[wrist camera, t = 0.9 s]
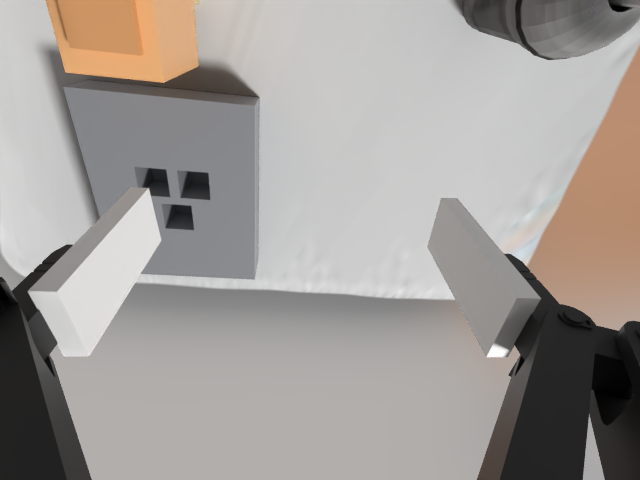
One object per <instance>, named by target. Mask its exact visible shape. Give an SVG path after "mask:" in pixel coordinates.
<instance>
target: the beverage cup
mask: <svg viewBox="0 0 640 480" xmlns="http://www.w3.org/2000/svg"><path fill="white" fill-rule="evenodd" d="M463 13H464V17H465V19H466V22H467V23H468V24H469V25H470V26H471V27H472V28H474V29H477V30H478V31H480V32H483V33H486V34H489V35H492V36H496V37H499V38H502V39H505V40H509V41H512V42H515V43H518V44H520V45H521V46H522V47H523V48H525V49H527V50H528V51H530V52H531V53H532V54H533V55H535V56H538V57H541V58H544V59H547V60H555V59H567V58H570V57H577V56H582V55H585V54H588V53H590V52H593V51H595V50H598V49H600V48H603V47H605V46H607V45H609V44H610V43H612V42H613V41H615V40H616V39H617V38H619V37H620V36H622V35H623V34H625V33H626V32H627V31H629V30H630V29H631V28H632V27H633V26H634V25H635V24H636V23H637V22H638V21H639V20H640V0H464V2H463Z"/></svg>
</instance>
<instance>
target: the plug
mask: <svg viewBox="0 0 640 480" xmlns="http://www.w3.org/2000/svg"><path fill="white" fill-rule="evenodd" d="M46 4H47V7H48V11H49V15H50V18H51V22H52V25H53V29H54V33H55V36H56V40H57V44H58V47H59V51H60V55H61V58H62V62H63V66H64V69H65V72H66V73H75V74H85V75H94V76H104V77H114V78H123V79H133V80H143V81H152V82H162V83H164V82H166V81H169V80H171V79H173V78H175V77H177V76H179V75H181V74H184V73H186V72H188V71H190V70H192V69H194V68H196V67H199V63H198V50H197V37H196V25H195V12H194V4H198V5H199V0H46Z"/></svg>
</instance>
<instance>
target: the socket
mask: <svg viewBox="0 0 640 480" xmlns="http://www.w3.org/2000/svg"><path fill="white" fill-rule="evenodd" d="M63 89H64V93H65V96H66V100H67V103H68V107H69V110H70V114H71V117H72V121H73V124H74V128H75V131H76V135H77V139H78V142H79V146H80V149H81V153H82V156H83V160H84V163H85V167H86V170H87V174H88V177H89V181H90V184H91V188H92V192H93V195H94V199H95V202H96V206H97V209H98V213H99V216H100V218H101V217H102V216H103V215H104V214H105V213H106V212H107V211H108V210H109V209H110V208H111V207H112V205H113V204H114V203H115V202H116V201H117V200H118V199H119V198H120V197H121V196H122V195H123V194H124V193H125V192H126V191H127V190H128V189H129V188H130V187H137V188H149V191H150V195H151V199H152V203H153V207H154V212H155V216H156V220H157V224H158V228H159V232H160V236H161V242H160V243H159V245H158V247H157V248H156V250H155V251H154V253H153V255H152V256H151V258H150V260H149V261H148V263H147V264H146V266H145V268H144V269H143V271H142V272H141V274H157V275H176V276H196V277H216V278H235V279H255V274H256V269H257V263H258V212H259V97H252V96H243V95H233V94H223V93H213V92H204V91H194V90H184V89H174V88H165V87H155V86H145V85H135V84H126V83H116V82H106V81H96V80H85V81H81V82H78V83H74V84H71V85H67V86H64V87H63Z"/></svg>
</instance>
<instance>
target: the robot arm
mask: <svg viewBox="0 0 640 480" xmlns="http://www.w3.org/2000/svg"><path fill="white" fill-rule="evenodd" d="M160 242H161V236H160V232H159V228H158V224H157V220H156V216H155V212H154V207H153V203H152V199H151V195H150V191H149V188H137V187H130V188H129V189H128V190H127V191H126V192H125V193H124V194H123V195H122V196H121V197H120V198H119V199H118V200H117V201H116V202H115V203H114V204H113V205H112V207H111V208H110V209H109V210H108V211H107V212H106V213H105V214H104V215H103V216H102V217H101V218H100V219H99V220H98V221H97V222H96V223H95V224H94V225H93V226H92V227H91V228H90V229H89V230H88V231H87V232H86V233H85V234H84V235H83V236H82V237H81V238H80V239H79V240H78V241H77V242H76V243H75V244H74V245H65V246H63V247H61V248H60V249H58V250H56V251H54V252H53V253H51V254H50V255H49V256H48V257H47V258H46V259H45V260H44V261H43V262H42V264H40V265H39V266H38V267H37V268H36V269H34V272H31V273H30V274H29V275H28V276H27V277H26V278H25V279H24V280H23V281H22V282H21V283H20V284H19V285H18V286H17V287H16V288H15V289H13V290H12V291H11V290H10V288H9V286H8V285H7V283H6V281H5V280H4V279H3V278H2V277H0V480H92V479H91V476H90V473H89V470H88V467H87V464H86V461H85V458H84V455H83V452H82V449H81V446H80V443H79V440H78V436H77V433H76V430H75V427H74V424H73V421H72V418H71V415H70V412H69V408H68V406H67V402H66V399H65V396H64V393H63V390H62V387H61V384H60V381H59V378H58V375H57V371H56V368H55V365H54V362H53V360H52V359H51V357H50V355H49V354H50V353H51V351H52V350H53V349H54V347H55V346H56V345H58V347H59V348H60V350H61V352H62V353H63V356H89V355H90V354H91V353H92V351H93V349H94V348H95V346H96V344H97V343H98V341H99V340H100V338H101V336H102V335H103V333H104V332H105V330H106V328H107V327H108V325H109V324H110V322H111V320H112V319H113V317H114V316H115V314H116V312H117V311H118V309H119V308H120V306H121V304H122V303H123V301H124V300H125V298H126V296H127V295H128V293H129V292H130V290H131V288H132V287H133V285H134V284H135V282H136V280H137V279H138V277H139V276H140V274H141V272H142V271H143V269H144V268H145V266H146V264H147V263H148V261H149V260H150V258H151V256H152V255H153V253H154V251H155V250H156V248H157V247H158V245H159V243H160ZM428 249H429V251H430V253H431V254H432V256H433V258H434V260H435V262H436V264H437V266H438V268H439V269H440V271H441V273H442V275H443V277H444V279H445V281H446V282H447V284H448V286H449V288H450V290H451V292H452V294H453V296H454V297H455V299H456V301H457V303H458V305H459V307H460V308H461V311H462V312H463V314H464V316H465V318H466V320H467V321H468V323H469V325H470V327H471V329H472V331H473V333H474V335H475V337H476V339H477V340H478V342H479V344H480V346H481V348H482V350H483V351H484V353H485V355H486V357H508V356H509V354H510V352H511V350H512V348H513V347H514V345H515V346H516V348H517V350H518V351H519V353H520V354H521V355H520V357H519V358H518V360H517V362H516V363H515V365H514V367H513V368H512V370H511V372H510V373H509V376H511V380H510V383H509V386H508V389H507V392H506V395H505V398H504V401H503V404H502V407H501V410H500V413H499V416H498V419H497V422H496V424H495V428H494V430H493V434H492V437H491V439H490V443H489V446H488V448H487V451H486V454H485V458H484V460H483V463H482V466H481V469H480V472H479V475H478V478H477V480H583V469H584V459H585V448H586V439H587V428H588V417H589V414H590V418H591V423H592V427H593V431H594V435H595V439H596V444H597V448H598V452H599V456H600V460H601V465H602V469H603V473H604V477H605V480H640V322H637V321H629V322H627V323H626V324H624V326H623V327H622V328H621V329H620V330H619V331H617V330H612V329H608V328H604V327H600V326H596V325H595V323H594V322H593V321H592V320H591V318H590V317H588V316H587V315H586V314H584V313H583V312H581V311H579V310H577V309H575V308H573V307H570V306H566V305H560V304H559V303H558V302H557V301H556V300H555V298H554V297H553V296H552V295H551V294H550V293H549V292H548V290H547V289H546V288H545V287H544V286H543V285H542V284H541V283H540V282H539V281H538V280H537V279H536V277H535V276H534V275H533V274H532V273H530V270H529V269H528V268H527V267H526V266H525V264H524V263H523V262H522V261H520V260H519V259H517V258H516V257H514V256H513V255H511V254H503V252H502V251H501V250H500V249H499V248H498V246H497V245H496V244H495V243H494V242H493V240H492V239H491V238H490V237H489V236H488V234H487V233H486V232H485V231H484V230H483V228H482V227H481V226H480V225H479V224H478V222H477V221H476V220H475V219H474V218H473V217H472V215H471V214H470V213H469V212H468V211H467V209H466V208H465V207H464V206H463V205H462V203H461V202H460V201H459V200H458V199H456V198H441V201H440V205H439V208H438V212H437V215H436V219H435V222H434V226H433V229H432V233H431V236H430V240H429V243H428Z"/></svg>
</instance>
